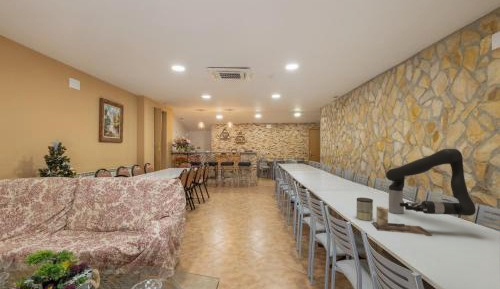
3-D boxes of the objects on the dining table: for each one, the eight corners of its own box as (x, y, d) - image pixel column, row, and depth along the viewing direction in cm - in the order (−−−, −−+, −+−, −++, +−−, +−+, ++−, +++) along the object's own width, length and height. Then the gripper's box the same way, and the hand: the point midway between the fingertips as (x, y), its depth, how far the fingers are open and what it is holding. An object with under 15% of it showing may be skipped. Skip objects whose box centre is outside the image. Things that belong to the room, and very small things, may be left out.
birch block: (385, 226, 154) (385, 206, 154) (387, 228, 149) (388, 209, 149) (376, 225, 155) (376, 206, 155) (378, 228, 150) (379, 208, 150)
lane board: (419, 227, 154) (419, 223, 154) (432, 235, 140) (432, 232, 140) (370, 223, 160) (370, 220, 160) (377, 231, 146) (377, 228, 146)
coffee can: (354, 217, 175) (354, 197, 174) (369, 217, 174) (369, 197, 173) (359, 221, 164) (359, 200, 164) (375, 222, 163) (375, 201, 163)
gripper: (426, 198, 153) (398, 197, 156) (439, 203, 139) (407, 202, 142) (426, 210, 153) (398, 209, 156) (439, 217, 139) (407, 215, 142)
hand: (402, 206), depth 149 cm, fingers open, 8 cm apart
